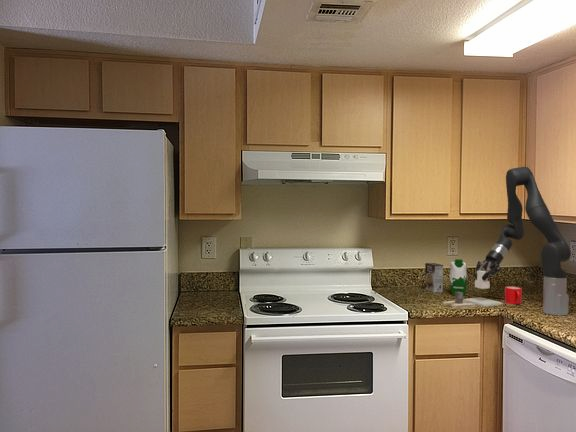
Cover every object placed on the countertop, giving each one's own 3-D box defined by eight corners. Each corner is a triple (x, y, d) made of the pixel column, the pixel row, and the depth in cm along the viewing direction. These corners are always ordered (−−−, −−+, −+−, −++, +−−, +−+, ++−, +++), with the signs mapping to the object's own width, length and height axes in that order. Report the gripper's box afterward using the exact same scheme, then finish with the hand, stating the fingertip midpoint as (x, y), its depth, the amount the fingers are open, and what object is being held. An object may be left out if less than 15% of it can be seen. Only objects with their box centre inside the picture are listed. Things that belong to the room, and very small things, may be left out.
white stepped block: (489, 288, 224) (489, 271, 224) (482, 288, 222) (482, 272, 222) (481, 286, 229) (482, 270, 228) (474, 287, 227) (475, 270, 226)
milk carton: (450, 295, 244) (450, 259, 244) (449, 292, 253) (449, 258, 252) (467, 296, 242) (467, 260, 241) (465, 292, 251) (465, 258, 250)
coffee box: (424, 289, 260) (424, 263, 260) (433, 289, 262) (433, 262, 262) (433, 292, 252) (434, 264, 251) (443, 291, 254) (443, 264, 253)
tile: (502, 304, 221) (502, 302, 221) (484, 306, 216) (484, 304, 216) (480, 299, 234) (480, 297, 234) (463, 300, 229) (463, 299, 229)
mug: (512, 306, 218) (512, 290, 217) (502, 300, 230) (502, 286, 229) (528, 306, 217) (528, 290, 217) (517, 301, 229) (517, 286, 229)
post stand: (475, 306, 216) (475, 293, 216) (458, 308, 212) (458, 295, 212) (459, 302, 226) (459, 289, 226) (442, 304, 222) (442, 291, 222)
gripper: (482, 248, 234) (465, 271, 230) (504, 251, 221) (487, 276, 217) (489, 257, 236) (472, 281, 232) (512, 260, 223) (494, 285, 219)
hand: (479, 278), depth 224 cm, fingers closed on white stepped block, 4 cm apart
